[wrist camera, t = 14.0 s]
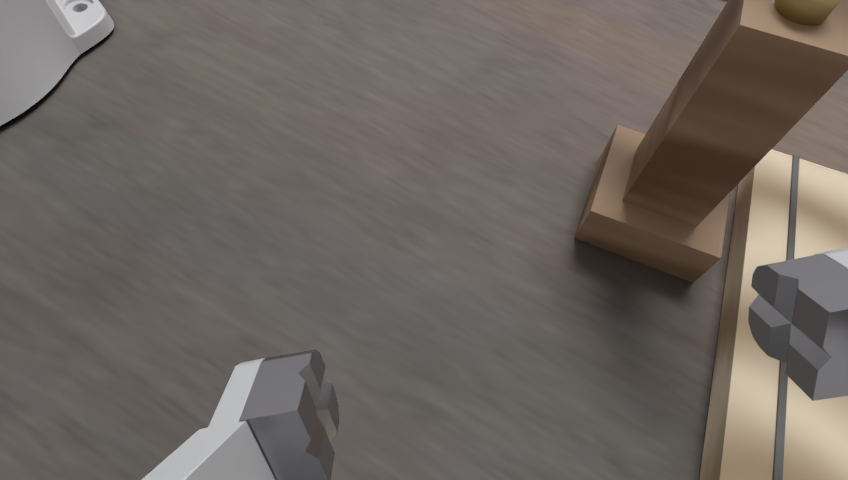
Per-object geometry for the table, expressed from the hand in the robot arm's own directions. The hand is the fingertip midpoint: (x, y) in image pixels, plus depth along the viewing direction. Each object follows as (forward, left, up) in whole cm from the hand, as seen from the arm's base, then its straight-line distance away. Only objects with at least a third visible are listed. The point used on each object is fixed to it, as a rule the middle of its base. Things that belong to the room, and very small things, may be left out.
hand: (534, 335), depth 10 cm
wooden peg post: (-6, +14, -13) cm, 20 cm away
